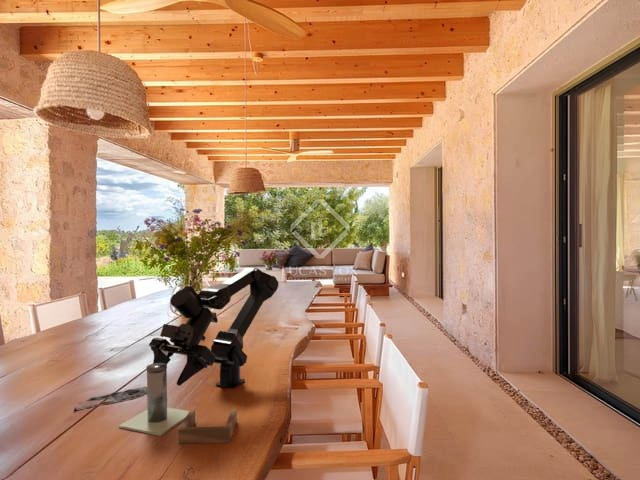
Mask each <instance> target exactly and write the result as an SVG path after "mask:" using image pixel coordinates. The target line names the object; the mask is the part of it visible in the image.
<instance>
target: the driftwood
mask: <svg viewBox="0 0 640 480" xmlns="http://www.w3.org/2000/svg"><path fill="white" fill-rule="evenodd" d="M145 396H147V386H142V387H138V388H129V389H126V390H123V391H113V392H111V393H108V394H105V395H100V396H92V397H90V398H88V399H87V400H86V402H93V401H103V400H107V401H104V402H102V403H100V404H90V405H87V406H86V405H85V406H84V405H83V404H82V402H79V404H80V405H81V404H82V406H81V407H76V406H75V407H74V409H75V410H78V411H79V410H86V409H89V408H95V407H100V406H104V405H107V404H113V403H119V402H124V401H130V400H134V399H140V398H141V397H145ZM108 400H109V401H108Z"/></svg>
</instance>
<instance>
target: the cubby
mask: <svg viewBox="0 0 640 480" xmlns="http://www.w3.org/2000/svg"><path fill="white" fill-rule="evenodd" d="M237 410H238V409H236V408H235V409H234V408H233V409H231V410H230V414H229V415H228V418H227V420H226V423H225V425H224V426H195V423H196V409H190V410H188V411H189V413H188V414H187V416H186V418H185V419H184V420H183V421H182V422H181V423H180V426H179V428H178V429H177V437H178V439H177V440H178V441H177V443H178V444H211V443H214V444H215V443H217V444H218V443H219V444H220V443H221V444H222V443H231V441H232V436H233V434H234V431H235V428H236V424H237V421H238V420H237V419H238V417H237V416H238V415H237V413H238V412H237Z"/></svg>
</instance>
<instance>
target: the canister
mask: <svg viewBox="0 0 640 480" xmlns="http://www.w3.org/2000/svg"><path fill="white" fill-rule="evenodd" d="M167 369H168V364H165V363H154V364H153V363H150V364H148V365H147V366H146V387H147V395H146V396H147V409H148V421H149V422H151V423H157V422H161V421H164V420H166V419H167V407H168V379H167V378H168V373H167V372H168V370H167Z"/></svg>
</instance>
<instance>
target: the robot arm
mask: <svg viewBox="0 0 640 480" xmlns="http://www.w3.org/2000/svg"><path fill="white" fill-rule="evenodd" d="M248 286H249V292H250V293H249V296H248V297H247V299H246V301H245V302H244V304H243V305H242V307H241V308H240V310H239V312H238V313H237V315H236V316H235V319H234V320H233V322H232V323H231V325H230V326H229V328H228V329H227V330H220V331H218V332H217V334H216V337H215V338H214V339H213V340H212V345H211V346H210V348H209V347H208V346H206V345H203V344H202V345H201V344H200V343H201V341H203V342H205V340H206V339H207V338H206V336H205V333H206V332H207V330H208V328H209V326H210V325H211V323H213V324H214V323H215V324H217V323H218V322H219V321H218V317H217V313H216V312H213V311H211V310H219V311H221V310H223V309H224V308H225V307H226V306H227V305H228V304H229V303H230V302H231V299H232V297H233V296H234V295H235V294H237V293H239V292H240V291H241V290H243V289H244V288H247V287H248ZM278 288H279V281H278V279H277V278H276V276H274V275H271V274H269V273H266V272H264V271H262V270H260V269H259V268H258V267H249V266H247V267H245V268H243V269H242V270H241V271H239V272H238V273H236V274H235V275H233V276H231V277H230V278H228V279H226V280H225V281H223V282H221V283H218V284H213V285H210V286H207V287H203V288H202V289H201V290H199V292H196V291H195V289H194V287H193V286H192V285H185V286H184V287H183V288H182V289H179V290H178V291H177V292H175V293H173V295H172V296H171V298H170V305H171V306H172V307H173V308H174V309H175V311H177V312H178V313H179V314H180V315H181V316H182V317H183V318H185V319H187V321H185V322H186V323H181V324H180V325H179V326H177V325H173V324H167V323H163V325H162V328H161V332H160V335H159V337H154V338H152V340H150V342H149V344H148V347H150V351H152V354H153V361H152V364H154V363H165V364H167V365H168V363H170V361H171V360H172V359H171V357H172V356H174V354H177V355H181V356H186V363H185V365H184V367H183V369H182V372H181V373H180V375H179V377H178V379H177V381H176V385H177V386H178V387H179V386H181V385H183V384H184V383H185V382H187V381H188V380H189V379H191V377H194V376H195V375H196V374H198V373H199V372H201V371H202V370H203V369H207V368H208V367H209V366H210V367H213V365H214V364H219V365H220V366H219V381H218V382H216V383H215V386H217V387H224V388H231V389H235V388H237V387H238V386H240V385H241V384H242V383H244V382H246V379H245V378H241V367H243V366H245V364H247V362H248V361H247V360H248V355H247V354H246V353H245V352H244V351H243V348H244V336H245V335H246V333H247V331H248V330H249V327H250V326H251V324H252V323H253V321H254V319H255V317H256V316H257V314H258V313H259V310H260V308H261V307H262V305H263V303H264V302H266V301H267V300H269V299H271V298H272V297H273V296H274V295H275V293H276V292H277V290H278ZM164 337H165V338H164ZM167 338H168V339H169V340H167ZM172 343H173V344H172Z"/></svg>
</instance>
